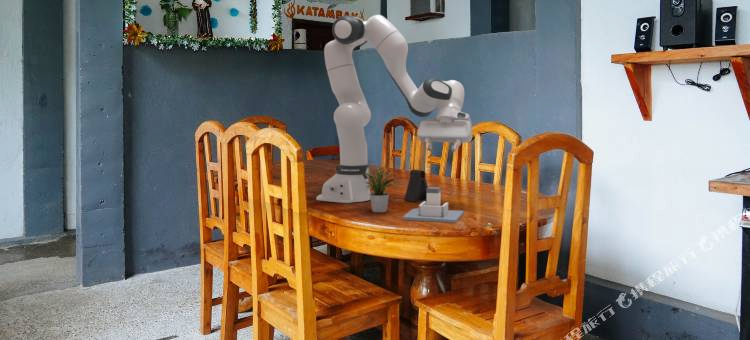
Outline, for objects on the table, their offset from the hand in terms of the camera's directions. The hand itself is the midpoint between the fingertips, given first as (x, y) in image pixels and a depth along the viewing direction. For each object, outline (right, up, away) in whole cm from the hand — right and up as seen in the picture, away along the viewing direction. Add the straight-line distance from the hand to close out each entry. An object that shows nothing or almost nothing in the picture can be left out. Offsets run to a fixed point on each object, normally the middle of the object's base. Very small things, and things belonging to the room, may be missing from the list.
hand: (441, 150), depth 206 cm
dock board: (-4, -23, -11) cm, 26 cm away
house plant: (-23, -22, -2) cm, 32 cm away
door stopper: (-7, -19, +20) cm, 29 cm away
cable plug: (-4, -22, -11) cm, 25 cm away
